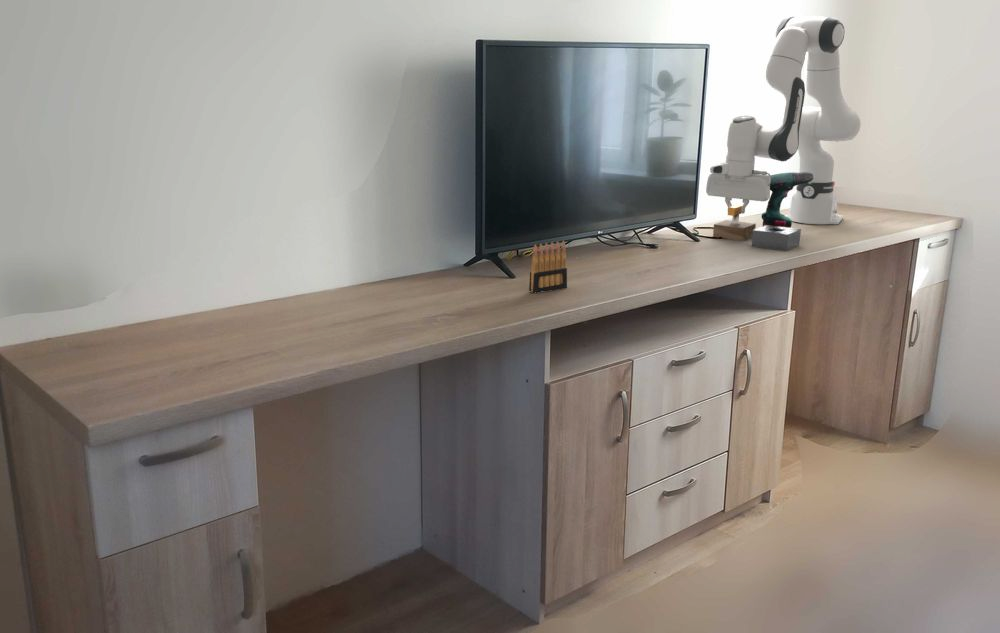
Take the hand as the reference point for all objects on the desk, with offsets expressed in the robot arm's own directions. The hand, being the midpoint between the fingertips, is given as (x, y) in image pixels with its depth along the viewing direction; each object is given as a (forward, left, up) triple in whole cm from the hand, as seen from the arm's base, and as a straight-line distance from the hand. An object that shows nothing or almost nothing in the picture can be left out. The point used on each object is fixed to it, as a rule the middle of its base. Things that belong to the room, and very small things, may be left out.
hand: (736, 212), depth 304 cm
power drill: (-16, +10, -8) cm, 20 cm away
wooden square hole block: (0, 0, -8) cm, 8 cm away
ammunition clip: (+96, -8, -8) cm, 97 cm away
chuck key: (0, 0, -7) cm, 7 cm away
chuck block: (+6, +16, -8) cm, 19 cm away
